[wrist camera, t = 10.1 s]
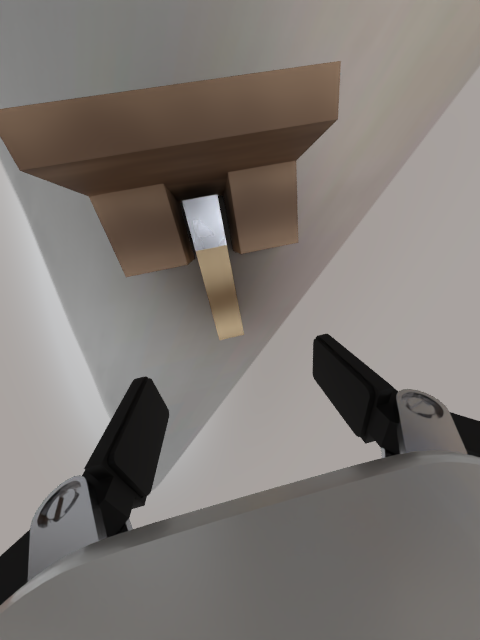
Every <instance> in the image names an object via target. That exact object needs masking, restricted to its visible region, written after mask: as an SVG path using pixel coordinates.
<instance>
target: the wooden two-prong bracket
mask: <svg viewBox="0 0 480 640" xmlns="http://www.w3.org/2000/svg"><path fill="white" fill-rule="evenodd" d="M340 64H341V61H337V62H330V63H323V64H316V65H309V66H302V67H295V68H288V69H280V70H273V71H266V72H259V73H252V74H245V75H238V76H231V77H224V78H217V79H210V80H203V81H196V82H188V83H181V84H174V85H167V86H160V87H153V88H146V89H139V90H132V91H125V92H118V93H111V94H104V95H96V96H89V97H82V98H75V99H68V100H61V101H54V102H47V103H40V104H33V105H26V106H19V107H12V108H4V109H0V137H1V138H2V140H3V142H4V144H5V145H6V147H7V149H8V151H9V152H10V154H11V156H12V158H13V159H14V161H15V163H16V165H17V166H18V168H19V170H20V171H23V172H25V173H28V174H31V175H33V176H36V177H39V178H41V179H44V180H47V181H49V182H52V183H55V184H57V185H60V186H63V187H65V188H68V189H71V190H73V191H76V192H79V193H81V194H84V195H87V196H89V198H90V200H91V202H92V204H93V206H94V209H95V211H96V213H97V215H98V217H99V219H100V222H101V224H102V226H103V228H104V230H105V232H106V235H107V237H108V239H109V241H110V243H111V245H112V248H113V250H114V252H115V254H116V256H117V258H118V261H119V263H120V265H121V267H122V269H123V271H124V274H125V276H126V277H129V276H134V275H139V274H144V273H149V272H154V271H159V270H164V269H169V268H174V267H179V266H184V265H188V264H189V263H190V262H191V261H192V260H194V259H195V257H194V253H193V250H192V246H191V243H190V239H189V235H188V232H187V228H186V224H185V221H184V217H183V214H182V210H181V206H180V203H182V201H183V200H189V199H194V198H200V197H205V196H211V195H217V196H221V195H223V197H224V203H225V208H226V214H227V219H228V225H229V230H230V236H231V242H232V247H233V251H235V252H238V253H240V254H244V253H249V252H254V251H258V250H263V249H268V248H273V247H278V246H283V245H288V244H293V243H298V215H297V177H296V160H297V159H298V158H299V157H300V156H301V155H302V154H303V153H304V152H305V151H306V150H307V149H308V148H309V147H310V146H311V145H312V144H313V143H314V142H315V141H316V140H317V139H318V138H319V137H320V136H321V135H322V134H323V133H324V132H325V131H326V130H327V129H328V128H329V127H330V126H331V125H332V124H333V123H334V122H335V121H336V120H337V119H338V103H339V84H340Z"/></svg>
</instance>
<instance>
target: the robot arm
mask: <svg viewBox="0 0 480 640" xmlns="http://www.w3.org/2000/svg"><path fill="white" fill-rule="evenodd" d="M313 377H314V379H315V380H316V382H317V383H318V385H319V386H320V387H321V389H322V390H323V391H324V393H325V394H326V395H327V397H328V398H329V399H330V401H331V402H332V404H333V405H334V406H335V408H336V409H337V410H338V412H339V413H340V415H341V416H342V417H343V419H344V420H345V421H346V423H347V424H348V425H349V427H350V428H351V429H352V431H353V432H354V433H355V435H356V436H358V437H361V438H362V440H363V441H364V442H365V443H369V442H373V441H376V442H377V443H378V445H379V446H380V447H381V452H382V458H381V459H377V460H374V461H370V462H366V463H362V464H358V465H354V466H351V467H347V468H343V469H340V470H336V471H333V472H329V473H326V474H322V475H319V476H315V477H311V478H308V479H305V480H301V481H297V482H294V483H290V484H287V485H283V486H280V487H276V488H273V489H269V490H266V491H262V492H259V493H255V494H252V495H248V496H245V497H241V498H238V499H235V500H231V501H228V502H224V503H220V504H217V505H213V506H210V507H207V508H203V509H200V510H196V511H193V512H190V513H186V514H183V515H179V516H176V517H173V518H169V519H166V520H162V521H159V522H155V523H152V524H149V525H146V526H143V527H140V528H136V529H133V528H132V525H131V523H130V520H129V517H130V513H131V510H132V509H133V508H137V507H140V506H144V505H145V501H146V497H147V495H149V494H150V492H151V489H152V485H153V481H154V477H155V472H156V468H157V464H158V460H159V456H160V452H161V447H162V443H163V439H164V435H165V431H166V427H167V423H168V418H169V410H168V408H167V406H166V404H165V403H164V401H163V399H162V397H161V395H160V394H159V392H158V390H157V388H156V386H155V385H154V383H153V381H152V379H150V378H149V379H148V377H141V378H137V379H134V380H133V382H132V383H131V385H130V387H129V389H128V391H127V392H126V394H125V396H124V398H123V400H122V401H121V403H120V405H119V407H118V409H117V410H116V412H115V414H114V416H113V418H112V419H111V421H110V423H109V425H108V427H107V429H106V430H105V432H104V434H103V436H102V437H101V439H100V441H99V443H98V445H97V446H96V448H95V450H94V452H93V454H92V455H91V457H90V459H89V461H88V463H87V465H86V466H85V472H84V473H83V475H82V476H80V475H79V476H74V477H72V478H70V479H68V480H66V481H65V482H63V483H62V484H60V485H59V486H58V487H57V488H56V489H55V490H53V491H52V492H51V493H50V494H49V496H48V497H47V498H46V499H45V500H44V501H43V503H42V504H41V505H40V507H39V508H38V510H37V511H36V513H35V515H34V517H33V519H32V523H31V528H30V530H29V531H28V532H27V533H26V534H24V535H23V536H22V537H21V538H20V539H19V540H18V541H17V542H16V543H15V544H13V545H12V546H11V547H10V548H9V549H8V550H7V551H6V552H5V553H3V554H2V555H1V556H0V640H480V421H477V420H473V419H470V418H467V417H464V416H460V415H457V414H454V413H451V412H449V411H448V409H447V408H446V406H445V405H444V404H443V403H442V402H440V401H439V400H438V399H436V398H435V397H433V396H431V395H429V394H427V393H424V392H421V391H418V390H412V389H404V390H401V391H399V392H398V391H397V390H396V389H394V388H393V387H392V386H391V385H390V384H389V383H388V382H386V381H385V380H384V379H383V378H381V377H380V376H379V375H378V374H377V373H375V372H374V371H373V370H372V369H370V368H369V367H368V366H367V365H365V364H364V363H363V362H362V361H361V360H359V359H358V358H357V357H356V356H354V355H353V354H352V353H351V352H349V351H348V350H347V349H346V348H344V347H343V346H342V345H341V344H340V343H338V342H337V341H336V340H335V339H334V338H332V337H331V336H330V335H328V334H323V335H319V336H317V337H316V339H314V343H313Z"/></svg>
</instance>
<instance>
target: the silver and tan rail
mask: <svg viewBox="0 0 480 640" xmlns="http://www.w3.org/2000/svg"><path fill="white" fill-rule="evenodd" d="M182 203H183V206H184V210H185V214H186V218H187V221H188V225H189V229H190V232H191V236H192V240H193V244H194V247H195V251H196V255H197V258H198V262H199V266H200V270H201V273H202V277H203V281H204V284H205V288H206V292H207V296H208V299H209V303H210V307H211V310H212V314H213V318H214V322H215V325H216V329H217V333H218V336H219V340H223V339H227V338H231V337H236V336H240V335H244V332H243V326H242V321H241V316H240V311H239V306H238V300H237V295H236V290H235V285H234V280H233V275H232V269H231V264H230V259H229V254H228V249H227V243H226V238H225V233H224V228H223V223H222V218H221V212H220V207H219V202H218V197H217V195H211V196H205V197H200V198H194V199H189V200H183V201H182Z"/></svg>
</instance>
